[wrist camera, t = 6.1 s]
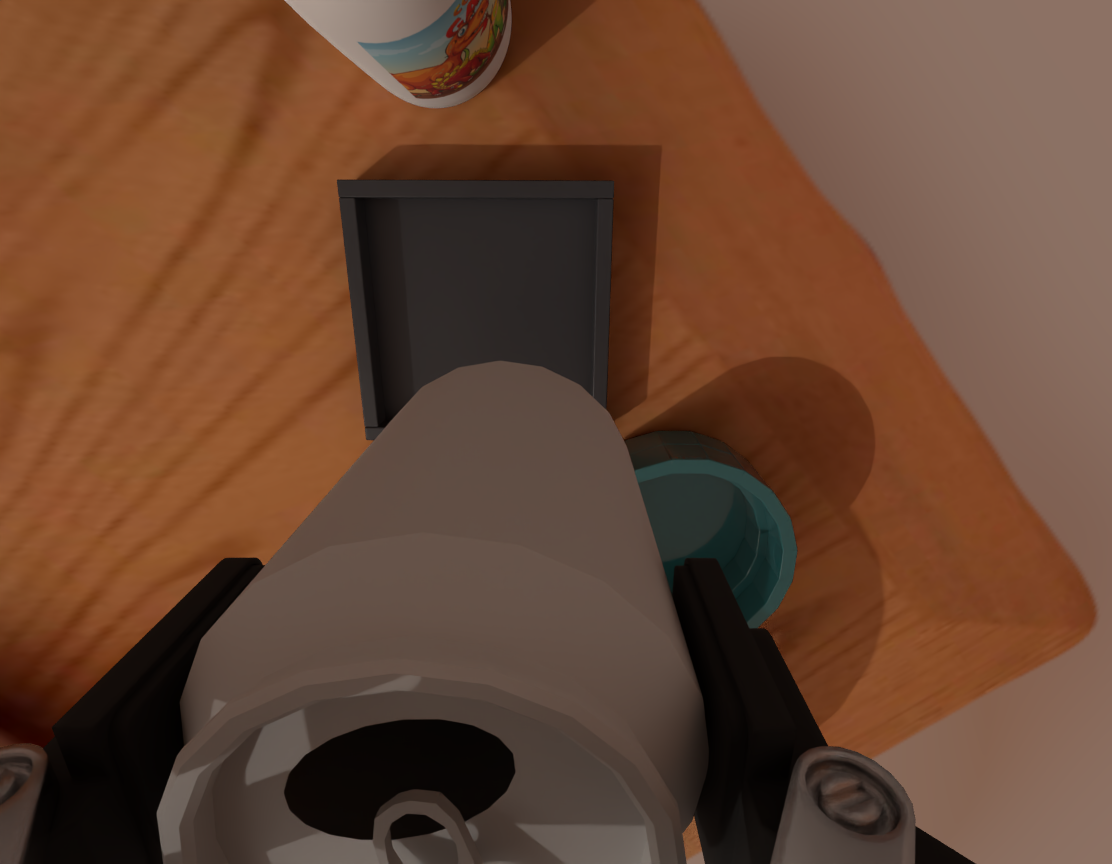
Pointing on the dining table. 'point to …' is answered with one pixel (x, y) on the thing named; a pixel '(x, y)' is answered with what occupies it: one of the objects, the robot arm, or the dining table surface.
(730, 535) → the bowl
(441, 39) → the milk bottle
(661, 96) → the dining table surface
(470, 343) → the tray
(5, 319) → the dining table surface
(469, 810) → the can
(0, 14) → the dining table surface
